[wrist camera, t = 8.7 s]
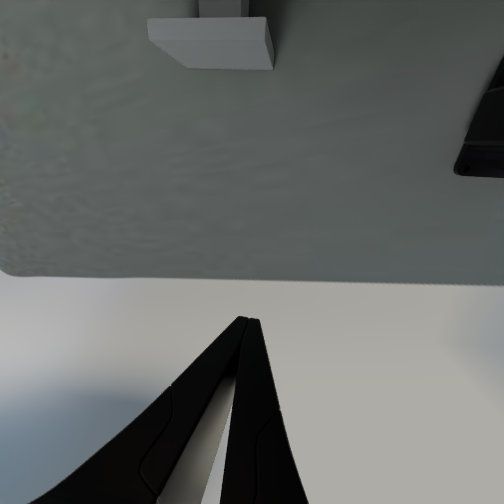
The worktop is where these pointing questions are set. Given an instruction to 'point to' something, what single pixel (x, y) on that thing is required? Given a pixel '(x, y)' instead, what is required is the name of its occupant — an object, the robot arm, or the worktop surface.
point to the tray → (216, 37)
